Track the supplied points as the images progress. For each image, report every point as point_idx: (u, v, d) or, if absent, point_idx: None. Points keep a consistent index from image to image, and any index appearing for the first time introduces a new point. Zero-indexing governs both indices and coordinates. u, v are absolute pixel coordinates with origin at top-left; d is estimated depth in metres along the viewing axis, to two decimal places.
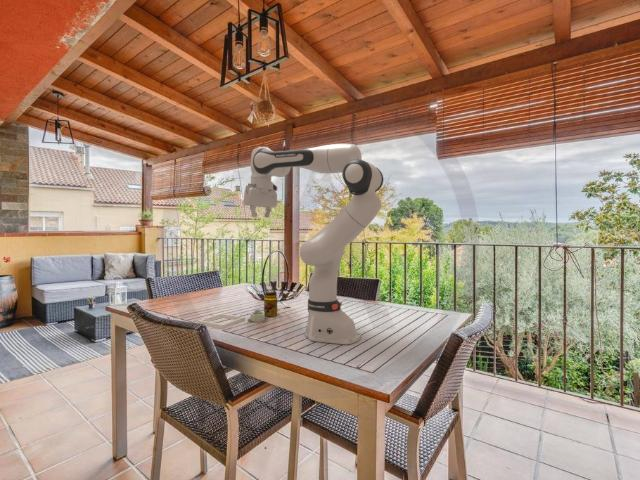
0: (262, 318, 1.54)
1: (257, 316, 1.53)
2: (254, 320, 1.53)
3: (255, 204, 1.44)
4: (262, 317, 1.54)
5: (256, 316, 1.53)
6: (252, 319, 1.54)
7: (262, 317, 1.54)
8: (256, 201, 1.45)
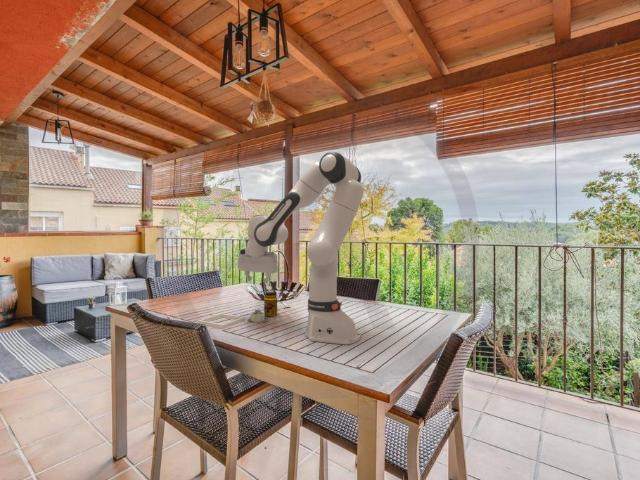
0: (262, 318, 1.54)
1: (257, 316, 1.53)
2: (254, 320, 1.53)
3: None
4: (262, 317, 1.54)
5: (256, 316, 1.53)
6: (252, 319, 1.54)
7: (262, 317, 1.54)
8: None
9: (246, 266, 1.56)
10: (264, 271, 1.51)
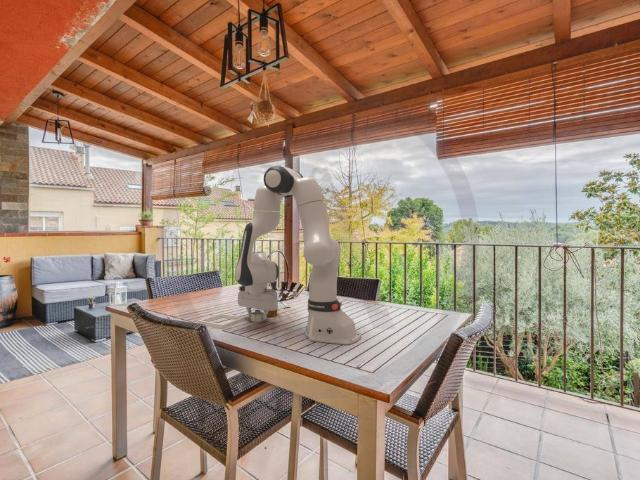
0: None
1: (257, 316, 1.53)
2: (254, 320, 1.53)
3: None
4: None
5: (256, 316, 1.53)
6: (252, 319, 1.54)
7: None
8: None
9: (246, 302, 1.56)
10: (264, 308, 1.52)
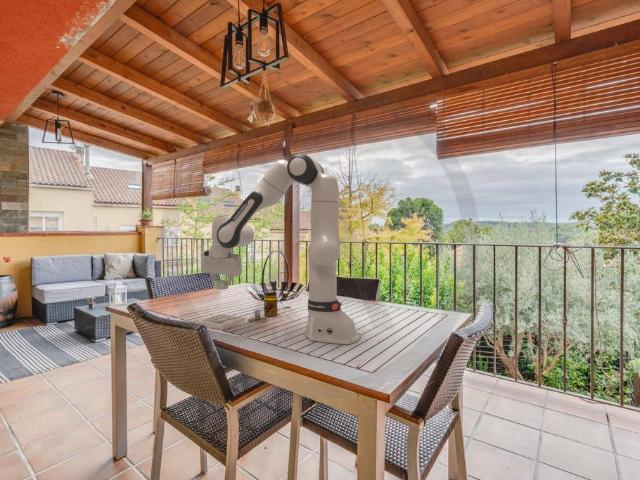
0: (225, 285, 1.49)
1: (220, 283, 1.48)
2: (216, 288, 1.48)
3: None
4: (225, 285, 1.49)
5: (219, 283, 1.47)
6: (215, 286, 1.48)
7: (226, 285, 1.49)
8: None
9: (210, 268, 1.51)
10: (228, 273, 1.47)
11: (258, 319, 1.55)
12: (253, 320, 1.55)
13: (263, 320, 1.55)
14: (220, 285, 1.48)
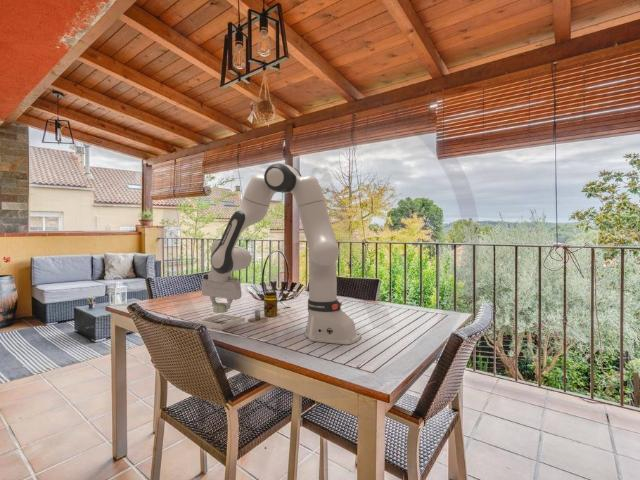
0: (224, 309, 1.49)
1: (219, 307, 1.48)
2: (215, 312, 1.48)
3: None
4: (224, 308, 1.49)
5: (218, 307, 1.47)
6: (214, 310, 1.48)
7: None
8: None
9: (210, 291, 1.51)
10: (227, 297, 1.47)
11: (258, 319, 1.55)
12: (253, 320, 1.55)
13: (263, 320, 1.55)
14: (219, 309, 1.48)
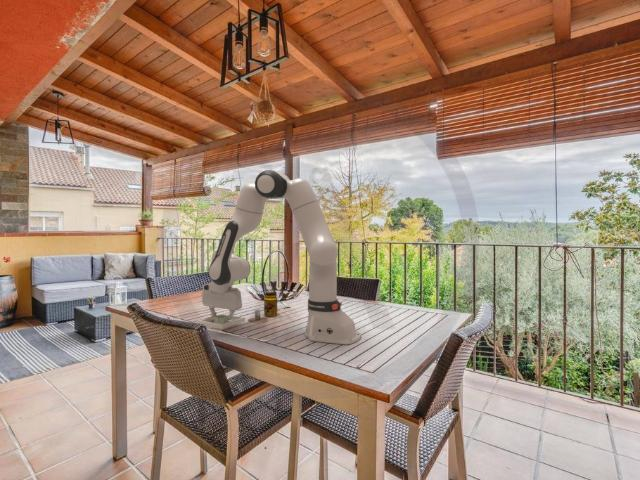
0: (225, 321, 1.49)
1: (220, 319, 1.48)
2: None
3: None
4: (225, 320, 1.49)
5: (219, 319, 1.48)
6: (215, 322, 1.49)
7: (226, 320, 1.49)
8: None
9: (210, 302, 1.52)
10: (228, 308, 1.47)
11: (258, 319, 1.55)
12: (253, 320, 1.55)
13: (263, 320, 1.55)
14: (220, 321, 1.48)
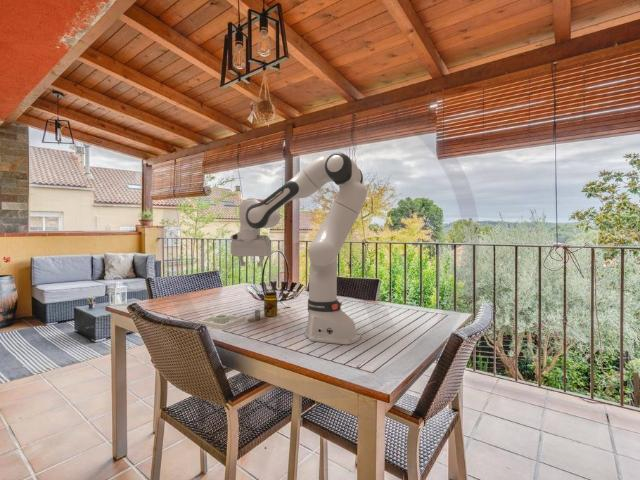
0: (225, 321, 1.49)
1: (220, 319, 1.48)
2: None
3: None
4: (225, 320, 1.49)
5: (219, 319, 1.48)
6: (215, 322, 1.49)
7: (226, 320, 1.49)
8: None
9: (239, 251, 1.55)
10: (257, 254, 1.51)
11: (258, 319, 1.55)
12: (253, 320, 1.55)
13: (263, 320, 1.55)
14: (220, 321, 1.48)
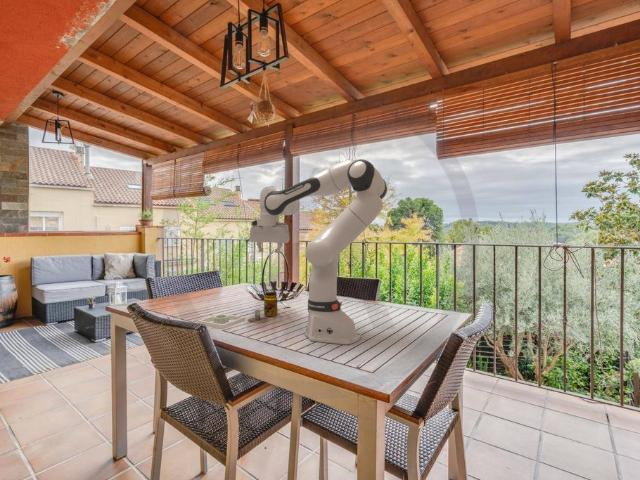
0: (225, 321, 1.49)
1: (220, 319, 1.48)
2: None
3: None
4: (225, 320, 1.49)
5: (219, 319, 1.48)
6: (215, 322, 1.49)
7: (226, 320, 1.49)
8: None
9: (258, 237, 1.59)
10: (276, 241, 1.55)
11: (258, 319, 1.55)
12: (253, 320, 1.55)
13: (263, 320, 1.55)
14: (220, 321, 1.48)
